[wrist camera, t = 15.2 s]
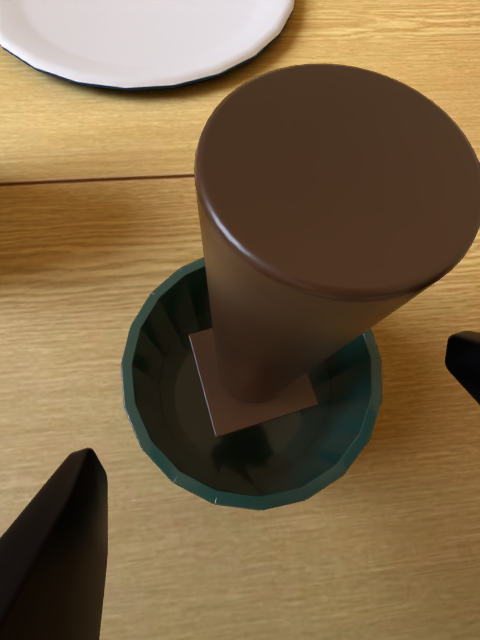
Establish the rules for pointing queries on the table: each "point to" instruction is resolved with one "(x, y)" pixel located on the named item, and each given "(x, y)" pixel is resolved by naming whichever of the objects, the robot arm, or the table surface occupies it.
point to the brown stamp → (319, 226)
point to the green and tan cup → (250, 443)
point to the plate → (139, 38)
